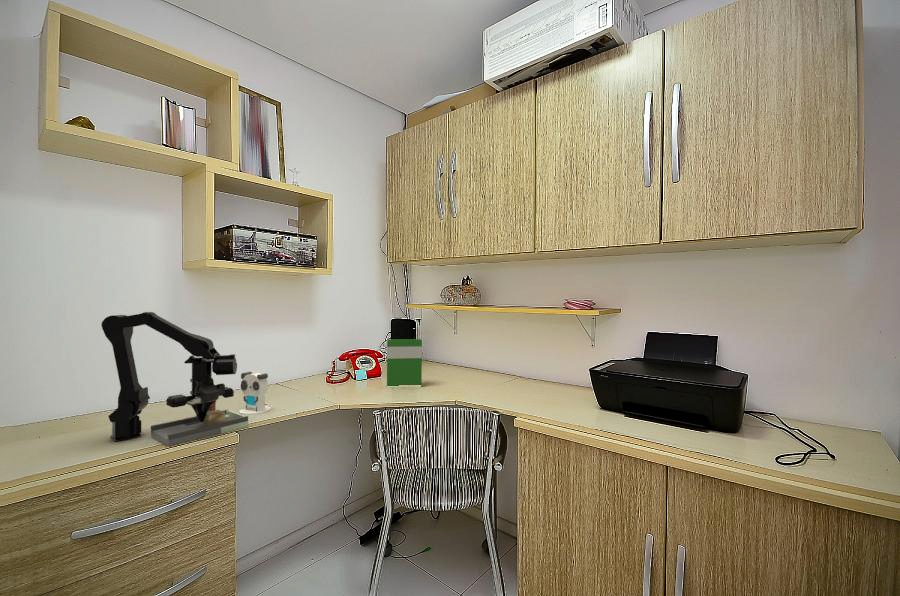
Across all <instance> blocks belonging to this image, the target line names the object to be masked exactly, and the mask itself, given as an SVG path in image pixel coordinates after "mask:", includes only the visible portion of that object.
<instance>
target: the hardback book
mask: <svg viewBox="0 0 900 596" xmlns="http://www.w3.org/2000/svg"><path fill="white" fill-rule="evenodd" d="M386 346H387V347H386V387H387V386H399V385H423V384H422V380H423V379H422V377H423V376H422V374H423V373H422V372H423V371H422V369H423V368H422V367H423V366H422V363H423V362H422V361H423V358H422V357H423V340H422V338H415V339H414V338H411V339H410V338H409V339H408V338H407V339H406V338H405V339H404V338H403V339H400V338H399V339H397V338H396V339H387V341H386Z"/></svg>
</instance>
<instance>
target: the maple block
mask: <svg viewBox="0 0 900 596" xmlns="http://www.w3.org/2000/svg"><path fill="white" fill-rule="evenodd" d="M224 421H225V412H223V410H220V409H216V410H214V411H210V412H207V414H206V417H205V419H204V422H203V423H204V424H206V425H211V424H215V423H219V422H224Z"/></svg>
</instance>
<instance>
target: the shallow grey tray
mask: <svg viewBox="0 0 900 596" xmlns="http://www.w3.org/2000/svg"><path fill="white" fill-rule="evenodd" d="M222 411H223V412H225V421H224V422H219V423H215V424H211V425H206V424H204V423H203V422H200V421H199V419H198V417H197V415H196V416H191V417H186V418H182V419H176V420H172V421H167V422H162V423H158V424H152V425H150V438H153V439H154V440H156V441H158V442H159V441H160V442H159V443H161V442H162V443H161V444H163V445H165V446H167V447H168V448H169V447H174V446H177V445H181V444H185V443H189V442H193V441H198V440H202V439H205V438H209V437H214V436H216V435H221V434H225V433H228V432H232V431H236V430H241V429H244V428H248V427H249V415H248V416H247V415H246V414H241V413H239V412H236V411H233V410H231V409H224V410H222Z"/></svg>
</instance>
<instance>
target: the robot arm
mask: <svg viewBox="0 0 900 596" xmlns="http://www.w3.org/2000/svg"><path fill="white" fill-rule="evenodd" d="M144 325H145V326H146V327H149V328H150V329H152V330H154V331H157V332H158V333H160V334H162V335H164V336H166V337H167V338H170V339H172V340H173V341H175V342H177V343H179V345H180V346H182V347H183V349H184V350H186V351H187V352H188V353H190V354H191V355H190V356H189V357H188V358H187V359H186V360H185V361H184V362H183V363H184V364H191V378H190V380H189V381H190V383H191V390H190V391H189V393H190V394H189V395H184V394H174V395H169V396H168V397H167V398H166V406H168V407H169V408H180V407H184V406H186V405H189V406H190V407H191V408H192V409H193V412H194V413H195V415H196V416H197V417H198V419H199V421H200V422H204V419H205V417H206V414H207V411H208V409H209V407H210V406H211V405H212V404H213V403H214V402H216V403H217V400H219V397H221V396H222V398H224V399H227V398H232V397H234V395H235V393H234V392H235V391H234V389H233V388H232V387H228V386H226V385H225V384H224V383H222V382H221V383H217V384H215V382H214V378H212V377H213V376H212V374H215V375H216V376H224V375H225V376H226V375H236V373H237V370H238V369H237V368H238V362H237V359H236V354H234V353H233V354H223V355H222V354H220V353H219V352H218V350H217V349H216V348H215V345H214V341H213V340H211V339H210V338H209V337H205V336H202V335H199V334H195V333H191V332H188V331H186V330H185V329H184V328H181V327H179V326H178V325H176V324H174V323H172V322H171V321H169V320H166V319H165V318H164V317H161V316H159V315H158V314H157V313H156V312H153V311H144V312H142V313H137V314H131V315H125V314H115V315H109V316H107V317H105V318H104V319H103V320H101V329H102V331H103V333H104V336H105V338H107V340H108V341H109V342H110V343H111V346H112V350H113V357H114V361H115V365H116V370H117V371H116V372H117V376H118V380H119V386H120V389H119V393H118V397H117V408H116V409H114V411H112V412H111V413H110V414H109V415H108V419H109V421H110V423H112V429H111V435H110V437H109V438H110V439H112V440H113V441H114V442H122V441H125V440H129V439H133V438H134V439H135V438H139V437H141V436H142V434H141V433H142V420H141V419H140V416H139V415H140V414H142V411H143V410H144V409H145V408H146V407H147V406H148V404H149V400H150V399H151V397H150V396H149V388H148V386H146V387H143V386H141V384H140V383H139V378H138V377H139V376H138V373H137V367H136V363H135V356H134V351H133V347H132V337H133V333H134V328H135V327H140V326H144ZM212 372H213V373H212ZM201 399H202V400H201Z"/></svg>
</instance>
